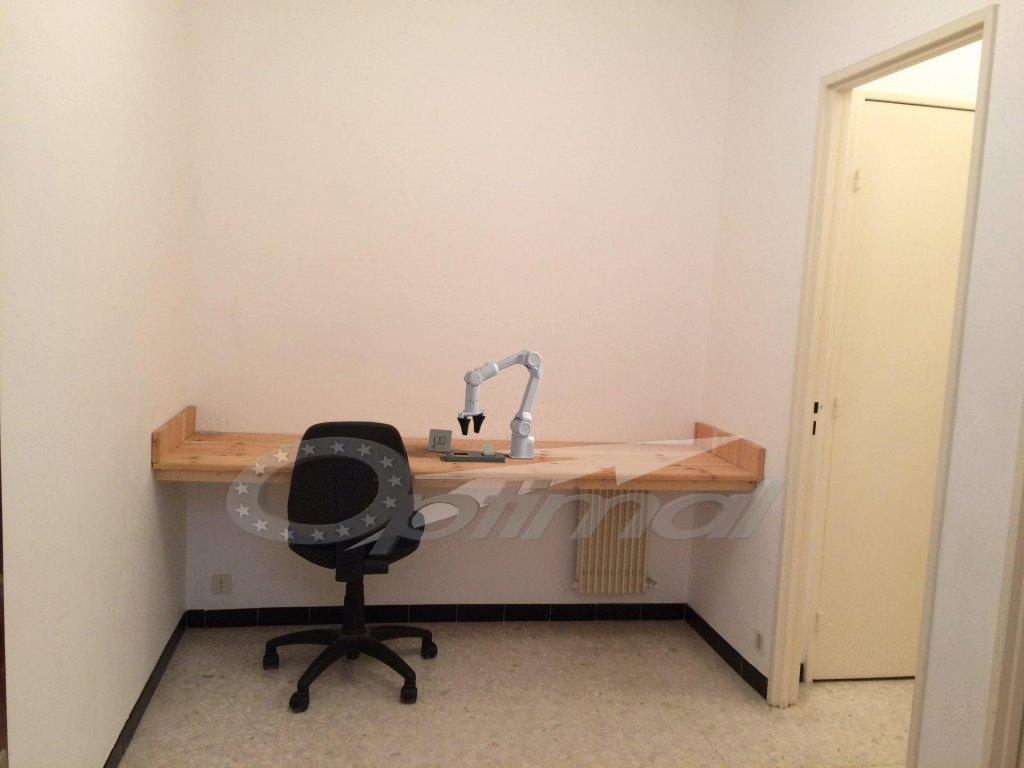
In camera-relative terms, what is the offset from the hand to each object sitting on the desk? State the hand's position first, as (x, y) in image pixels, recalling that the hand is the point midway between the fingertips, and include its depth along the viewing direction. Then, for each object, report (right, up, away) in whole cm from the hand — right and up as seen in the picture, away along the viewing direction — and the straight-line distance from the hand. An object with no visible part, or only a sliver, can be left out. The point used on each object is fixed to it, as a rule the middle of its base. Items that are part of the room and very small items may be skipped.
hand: (470, 434), depth 318 cm
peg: (+7, -10, -1) cm, 13 cm away
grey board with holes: (+2, -10, -2) cm, 10 cm away
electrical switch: (-14, -8, +11) cm, 19 cm away
